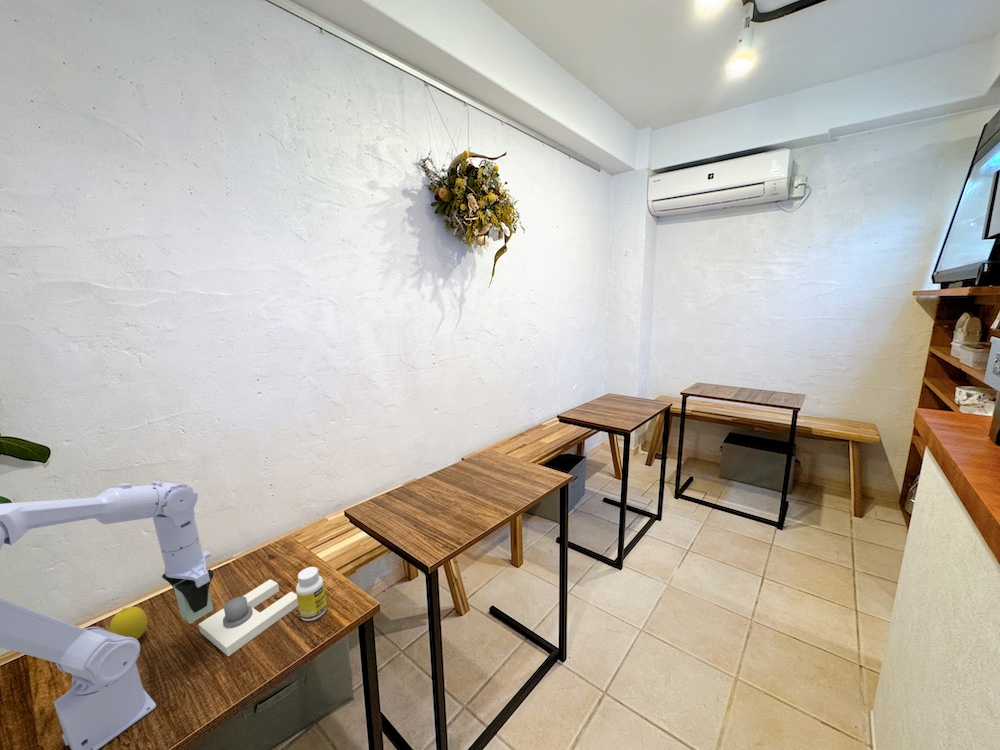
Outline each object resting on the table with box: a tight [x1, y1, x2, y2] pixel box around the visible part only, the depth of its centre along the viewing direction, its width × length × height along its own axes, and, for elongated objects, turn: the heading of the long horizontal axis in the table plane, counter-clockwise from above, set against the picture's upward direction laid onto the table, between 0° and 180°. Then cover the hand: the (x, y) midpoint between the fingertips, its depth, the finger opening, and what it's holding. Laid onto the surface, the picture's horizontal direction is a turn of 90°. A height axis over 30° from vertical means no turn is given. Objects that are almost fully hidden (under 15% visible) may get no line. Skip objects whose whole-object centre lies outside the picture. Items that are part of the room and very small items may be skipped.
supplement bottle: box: [295, 566, 328, 622], centre depth 85 cm, size 5×5×10 cm
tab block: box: [173, 579, 214, 624], centre depth 77 cm, size 4×4×7 cm
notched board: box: [197, 578, 299, 657], centre depth 85 cm, size 15×12×6 cm
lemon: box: [108, 606, 148, 640], centre depth 80 cm, size 6×6×8 cm
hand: (195, 604), depth 77 cm, fingers closed on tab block, 4 cm apart
